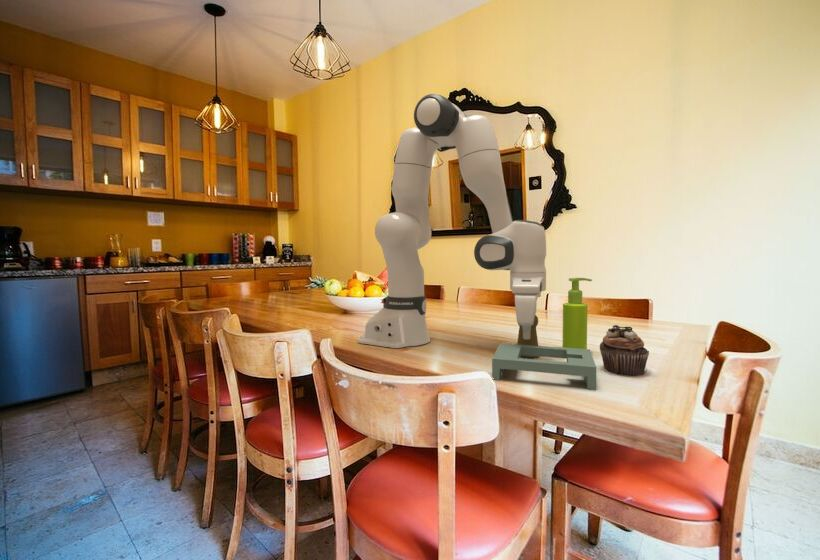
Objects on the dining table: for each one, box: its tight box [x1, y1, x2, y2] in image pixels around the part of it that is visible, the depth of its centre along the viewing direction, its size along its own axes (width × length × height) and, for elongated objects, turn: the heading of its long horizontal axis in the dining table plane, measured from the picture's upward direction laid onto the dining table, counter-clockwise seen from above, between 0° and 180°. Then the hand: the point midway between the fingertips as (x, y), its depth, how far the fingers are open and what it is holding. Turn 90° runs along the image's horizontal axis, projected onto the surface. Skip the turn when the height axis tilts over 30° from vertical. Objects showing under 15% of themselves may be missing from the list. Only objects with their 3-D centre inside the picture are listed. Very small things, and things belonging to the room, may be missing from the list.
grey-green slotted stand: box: [491, 342, 597, 391], centre depth 83 cm, size 20×14×4 cm
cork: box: [516, 315, 540, 360], centre depth 97 cm, size 6×6×11 cm
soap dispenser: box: [562, 277, 593, 349], centre depth 98 cm, size 6×7×20 cm
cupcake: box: [599, 324, 650, 377], centre depth 84 cm, size 10×10×10 cm
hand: (527, 336), depth 97 cm, fingers closed on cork, 4 cm apart
